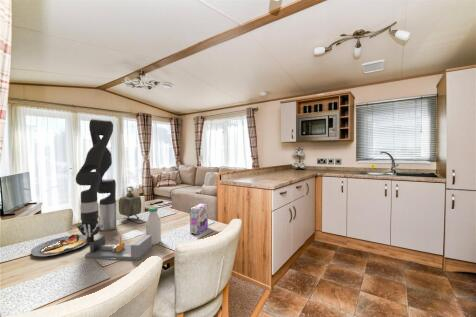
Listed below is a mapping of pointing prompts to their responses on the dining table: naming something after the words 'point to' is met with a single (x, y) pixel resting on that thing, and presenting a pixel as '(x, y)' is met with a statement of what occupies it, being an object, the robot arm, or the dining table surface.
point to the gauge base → (126, 250)
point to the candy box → (198, 218)
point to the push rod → (101, 245)
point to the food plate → (60, 245)
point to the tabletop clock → (130, 204)
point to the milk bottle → (153, 226)
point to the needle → (120, 245)
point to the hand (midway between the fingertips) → (90, 243)
